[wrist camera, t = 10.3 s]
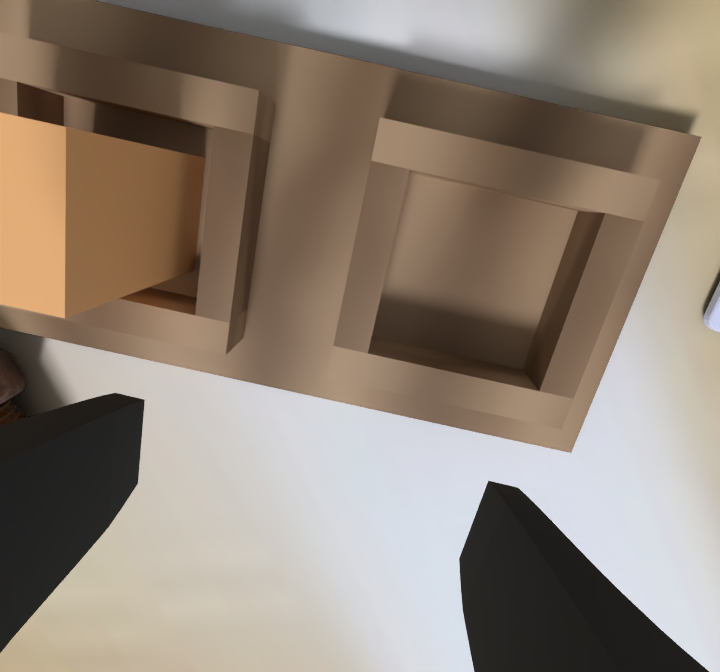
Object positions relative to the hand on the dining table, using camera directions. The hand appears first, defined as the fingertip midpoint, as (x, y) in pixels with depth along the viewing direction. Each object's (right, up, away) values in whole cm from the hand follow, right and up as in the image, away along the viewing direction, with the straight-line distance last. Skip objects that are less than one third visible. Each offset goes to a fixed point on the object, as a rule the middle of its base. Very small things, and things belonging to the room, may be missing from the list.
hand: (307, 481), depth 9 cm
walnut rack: (-1, +7, +8) cm, 10 cm away
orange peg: (-7, +8, +7) cm, 12 cm away
